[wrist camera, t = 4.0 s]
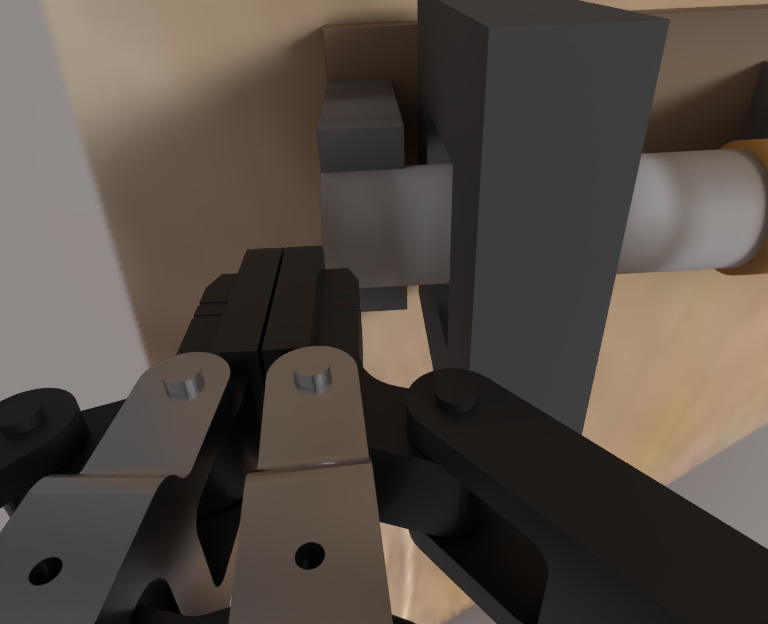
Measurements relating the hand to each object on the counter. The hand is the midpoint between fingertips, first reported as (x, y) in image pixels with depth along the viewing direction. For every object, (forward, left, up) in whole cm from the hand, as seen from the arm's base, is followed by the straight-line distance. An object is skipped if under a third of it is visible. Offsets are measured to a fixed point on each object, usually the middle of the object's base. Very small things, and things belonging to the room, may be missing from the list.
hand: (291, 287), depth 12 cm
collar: (0, +5, -8) cm, 9 cm away
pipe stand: (0, +9, -10) cm, 13 cm away
